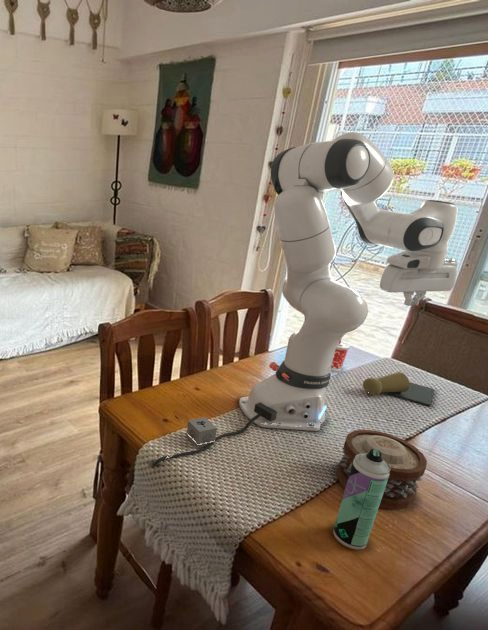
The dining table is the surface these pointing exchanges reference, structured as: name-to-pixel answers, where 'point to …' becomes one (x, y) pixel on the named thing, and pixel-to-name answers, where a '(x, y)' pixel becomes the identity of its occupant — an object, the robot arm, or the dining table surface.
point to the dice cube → (201, 431)
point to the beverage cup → (339, 356)
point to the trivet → (415, 394)
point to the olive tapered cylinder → (387, 384)
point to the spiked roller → (400, 458)
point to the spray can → (361, 499)
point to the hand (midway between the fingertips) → (410, 305)
